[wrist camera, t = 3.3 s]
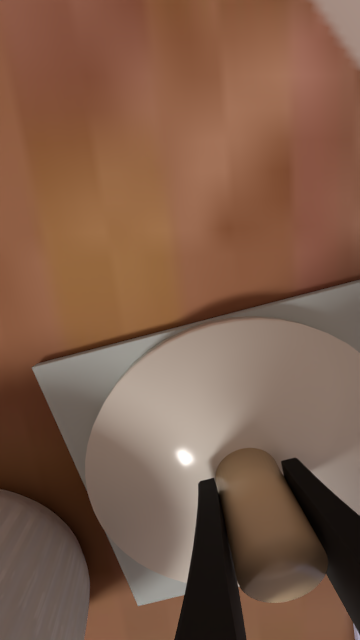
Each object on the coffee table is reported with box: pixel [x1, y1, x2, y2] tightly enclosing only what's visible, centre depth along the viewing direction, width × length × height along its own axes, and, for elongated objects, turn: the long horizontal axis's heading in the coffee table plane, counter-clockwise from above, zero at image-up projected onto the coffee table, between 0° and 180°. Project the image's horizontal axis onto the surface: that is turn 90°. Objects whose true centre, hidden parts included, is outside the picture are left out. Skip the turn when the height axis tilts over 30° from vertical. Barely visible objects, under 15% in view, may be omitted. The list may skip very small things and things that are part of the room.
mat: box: [32, 280, 360, 606], centre depth 11 cm, size 15×15×1 cm
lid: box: [85, 316, 360, 603], centre depth 9 cm, size 14×14×4 cm
